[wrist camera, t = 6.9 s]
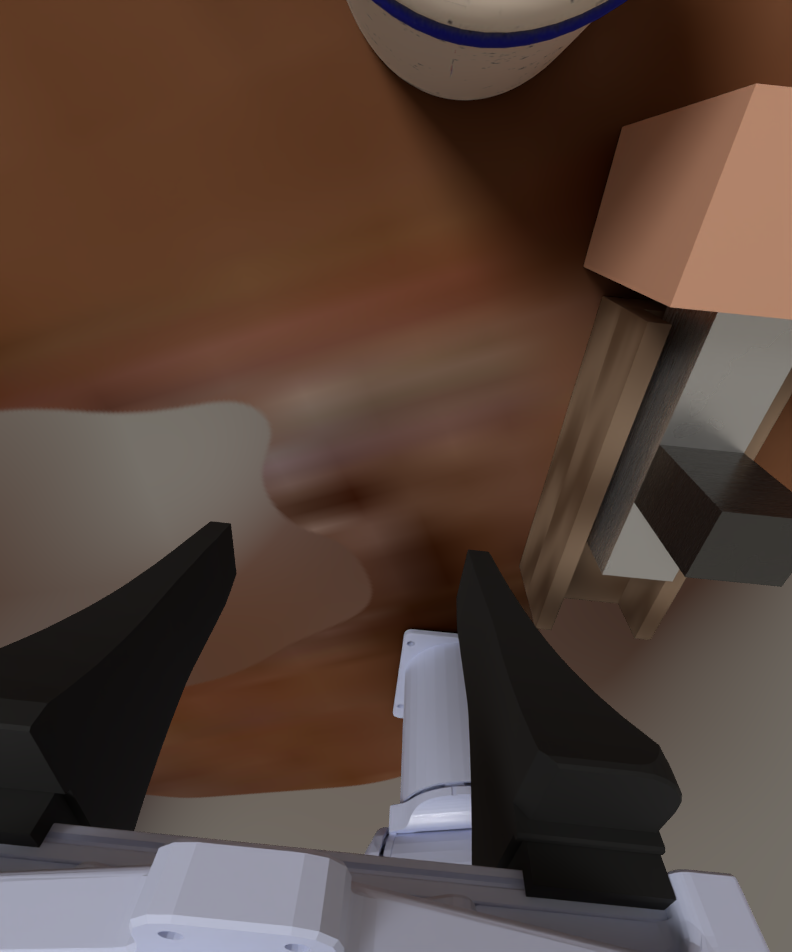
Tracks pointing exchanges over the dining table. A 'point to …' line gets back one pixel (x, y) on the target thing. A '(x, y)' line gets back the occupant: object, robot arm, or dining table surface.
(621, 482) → the slide bar
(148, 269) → the dining table surface
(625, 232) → the tan square block
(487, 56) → the teacup with lid
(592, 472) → the guide channel
